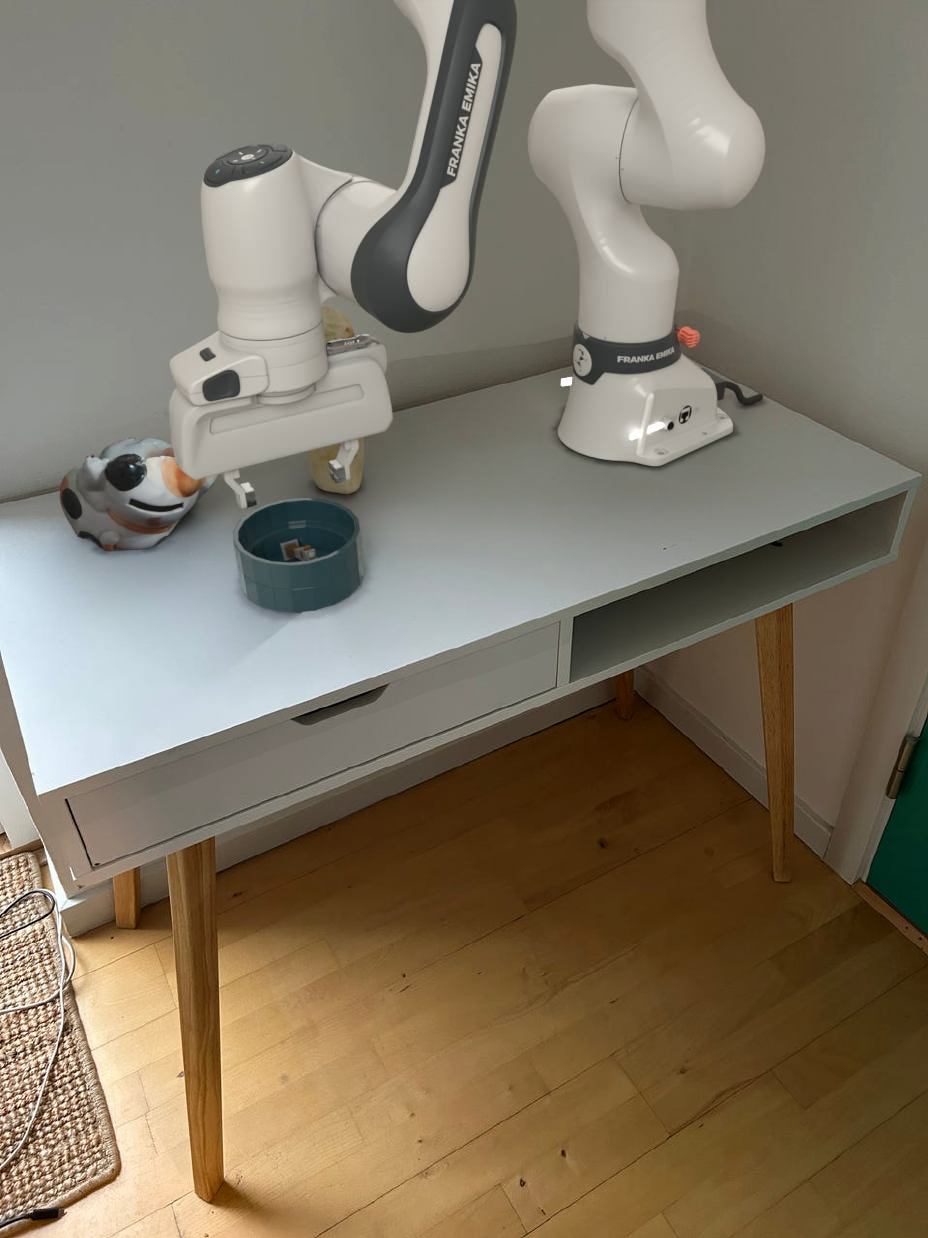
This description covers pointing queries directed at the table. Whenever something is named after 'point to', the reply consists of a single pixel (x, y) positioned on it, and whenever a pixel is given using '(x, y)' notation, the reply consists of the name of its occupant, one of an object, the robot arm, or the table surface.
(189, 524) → the table surface
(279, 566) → the teal round bowl
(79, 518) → the lucky cat figurine
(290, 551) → the wooden post with brackets
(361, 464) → the food model
